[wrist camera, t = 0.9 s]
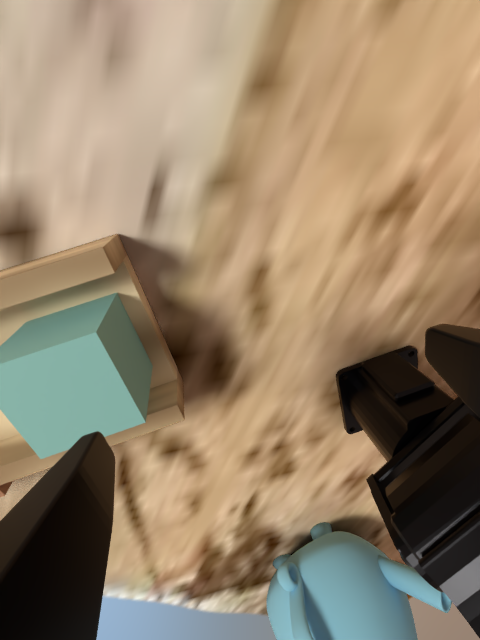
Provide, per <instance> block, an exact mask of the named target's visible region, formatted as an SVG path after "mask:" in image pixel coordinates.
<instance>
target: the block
mask: <svg viewBox="0 0 480 640" xmlns="http://www.w3.org/2000/svg"><path fill="white" fill-rule="evenodd" d="M152 368H153V365H152V363H151V361H150V359H149V357H148V355H147V353H146V351H145V349H144V347H143V345H142V343H141V341H140V339H139V337H138V334H137V332H136V330H135V328H134V326H133V324H132V322H131V320H130V318H129V316H128V314H127V312H126V310H125V308H124V306H123V304H122V302H121V299H120V297H119V295H118V293H114V294H111V295H107V296H104V297H101V298H98V299H95V300H92V301H89V302H86V303H83V304H80V305H77V306H74V307H70V308H67V309H64V310H61V311H58V312H55V313H52V314H49V315H46V316H43V317H40V318H37V319H33V320H30V321H27V322H26V323H24V324H23V325H22V326H21V327H20V328H19V329H18V330H17V331H16V332H15V333H14V334H13V335H12V336H11V337H9V338H8V339H7V340H6V341H5V342H4V343H3V344H2V345H1V346H0V410H1V411H2V412H3V414H4V415H5V416H6V417H7V419H8V420H9V421H10V422H11V423H12V425H13V426H14V427H15V428H16V430H17V431H18V432H19V433H20V434H21V436H22V437H23V438H24V439H25V441H26V442H27V443H28V444H29V446H30V447H31V448H32V449H33V450H34V452H35V453H36V454H37V455H38V457H39V458H40V459H43V458H46V457H49V456H52V455H55V454H57V453H60V452H63V451H66V450H69V449H70V448H71V447H72V446H73V445H74V444H75V443H76V442H77V441H78V440H79V439H80V438H81V437H82V436H83V435H86V434H89V433H93V432H96V431H99V432H101V433H102V434H103V436H104V437H106V436H109V435H112V434H114V433H117V432H120V431H123V430H126V429H129V428H132V427H134V426H137V425H140V424H143V423H146V417H147V409H148V401H149V392H150V384H151V376H152Z"/></svg>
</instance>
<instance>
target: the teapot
mask: <svg viewBox="0 0 480 640" xmlns="http://www.w3.org/2000/svg"><path fill="white" fill-rule="evenodd" d="M310 534H311V537H312V539H313V541H311V542H310V543H308V544H306V545H305V546H303V547H302V548H300V549H299V550H297V551H296V552H295V553H294V554H292V555H289V554H285V555H281V556H279V557H277V558H276V559H275V560H274V561H273V566H274V567H275V568H276V569H277V571H276V572H275V574H274V575H273V577H272V579H271V582H270V586H269V590H268V595H267V612H268V616H269V619H270V622H271V626H272V629H273V631H274V634H275V637H276V639H277V640H418V639H417V634H416V629H415V624H414V619H413V615H412V611H411V608H410V604H409V601H408V598H407V594H409V595H411V596H413V597H415V598H417V599H419V600H421V601H423V602H425V603H427V604H429V605H431V606H433V607H435V608H437V609H439V610H441V611H443V612H445V613H448V611H449V610H450V608H451V603H452V601H451V600H450V599H449V598H448V596H447V595H446V594H445V593H444V592H440V591H438V590H436V589H435V588H434V587H432V586H431V585H430V584H429V583H427V582H426V581H425V580H424V579H423V578H422V577H421V576H420V575H419V574H418V572H417V571H416V570H415V569H414V568H412V567H409V566H407V565H404V564H401V563H399V562H396V561H394V560H391V559H389V558H388V557H387V556H386V555H385V554H384V553H383V552H382V551H381V550H379V549H378V548H377V547H375V546H374V545H372V544H371V543H369V542H368V541H366V540H365V539H363V538H361V537H359V536H357V535H354V534H352V533H348V532H344V531H336V532H332V528H331V525H330V524H329V523H326V522H323V523H319V524H317V525H315V526H314V527H313V528H312V529H311V531H310ZM406 593H407V594H406Z"/></svg>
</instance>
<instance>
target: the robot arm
mask: <svg viewBox="0 0 480 640" xmlns="http://www.w3.org/2000/svg"><path fill="white" fill-rule="evenodd" d="M409 352H410V353H409ZM425 356H426V359H427V360H428V362H429V363H430V364H431V366H432V367H433V368H434V369H435V370H436V371H437V372H438V374H439V375H440V376H441V377H442V378H443V379H444V380H445V381H446V383H447V384H448V385H449V386H450V387H451V388H452V389H453V391H454V392H455V393H456V394H457V395H458V397H457V398H456V399H455V400H453V399H452V398H451V397H450V396H448V395H447V394H446V393H445V392H443V391H442V390H441V389H439V388H438V387H437V386H436V385H435V383H434V381H432V380H431V379H430V378H428V377H427V376H426V375H424V374H423V373H422V372H421V371H419V370H418V360H417V350H416V349H415V348H414V347H412V346H407V347H404V348H401V349H398V350H395V351H392V352H390V353H387V354H384V355H381V356H378V357H375V358H373V359H370V360H367V361H364V362H361V363H358V364H356V365H353V366H350V367H347V368H344V369H342V370H340V371H338V372H337V374H336V381H337V387H338V393H339V398H340V404H341V410H342V416H343V422H344V428H345V430H346V431H347V433H348V434H353V433H356V432H359V431H362V430H364V432H365V433H366V434H367V435H368V437H369V438H370V439H371V441H372V442H373V443H374V445H375V446H376V447H377V449H378V450H379V451H380V453H381V454H382V455H383V457H384V458H385V459H386V460H387V463H386V464H385V465H384V466H383V467H381V468H380V469H379V470H378V471H377V472H376V473H375V474H372V475H370V476H369V477H368V478H367V479H366V480H367V482H368V485H369V487H370V489H371V493H372V495H373V498H374V500H375V502H376V504H377V507H378V509H379V511H380V513H381V516H382V518H383V520H384V522H385V525H386V527H387V529H388V531H389V534H390V536H391V538H392V540H393V543H394V545H395V547H396V549H397V550H398V551H399V552H400V556H401V558H402V560H403V561H404V562H405V564H406V565H408V566H409V567H412V568H414V569H415V570H416V571H417V572H418V574H419V575H420V576H421V577H422V578H423V579H424V580H425V581H426V582H427V583H429V584H430V585H431V586H432V587H434V588H435V589H436V590H438V591H440V592H444V593H445V594H446V595H447V596H448V598H449V599H450V600H451V601H452V602H453V604H454V605H455V606H456V607H457V609H458V610H459V611H460V612H461V614H462V615H463V616H464V618H465V619H466V620H467V622H468V623H469V624H470V626H471V627H472V628H473V630H474V631H475V632H476V634H477V635H478V636H479V638H480V329H475V328H468V327H461V326H455V325H448V324H439V325H436V326H433V327H430V328H428V329H427V330H426V334H425ZM343 375H345V376H344V377H342V376H343ZM114 484H115V456H114V453H113V451H112V450H111V448H110V446H109V444H108V443H107V441H106V439H105V437H104V436H103V434H102V433H101V432H99V431H96V432H93V433H89V434H86V435H83V436H82V437H81V438H80V439H79V440H78V441H77V442H76V443H75V444H74V445H73V446H72V447H71V448H70V449H69V450H68V451H67V452H66V453H65V454H64V455H63V456H62V457H61V458H60V459H59V461H58V462H57V463H56V464H55V465H54V466H53V467H52V468H51V469H50V470H49V471H48V472H47V473H46V474H45V475H44V476H43V477H42V478H41V479H40V480H39V481H38V482H37V483H36V485H35V486H34V487H33V488H32V489H31V490H30V491H29V492H28V493H27V494H26V495H25V496H24V497H23V498H22V499H21V500H20V501H19V502H18V503H17V504H16V505H15V506H14V507H13V508H12V510H11V511H10V512H9V513H8V514H7V515H6V516H5V517H4V518H3V519H2V520H1V521H0V640H96V637H97V630H98V623H99V617H100V610H101V603H102V596H103V589H104V582H105V575H106V568H107V561H108V554H109V547H110V540H111V533H112V525H113V511H114Z"/></svg>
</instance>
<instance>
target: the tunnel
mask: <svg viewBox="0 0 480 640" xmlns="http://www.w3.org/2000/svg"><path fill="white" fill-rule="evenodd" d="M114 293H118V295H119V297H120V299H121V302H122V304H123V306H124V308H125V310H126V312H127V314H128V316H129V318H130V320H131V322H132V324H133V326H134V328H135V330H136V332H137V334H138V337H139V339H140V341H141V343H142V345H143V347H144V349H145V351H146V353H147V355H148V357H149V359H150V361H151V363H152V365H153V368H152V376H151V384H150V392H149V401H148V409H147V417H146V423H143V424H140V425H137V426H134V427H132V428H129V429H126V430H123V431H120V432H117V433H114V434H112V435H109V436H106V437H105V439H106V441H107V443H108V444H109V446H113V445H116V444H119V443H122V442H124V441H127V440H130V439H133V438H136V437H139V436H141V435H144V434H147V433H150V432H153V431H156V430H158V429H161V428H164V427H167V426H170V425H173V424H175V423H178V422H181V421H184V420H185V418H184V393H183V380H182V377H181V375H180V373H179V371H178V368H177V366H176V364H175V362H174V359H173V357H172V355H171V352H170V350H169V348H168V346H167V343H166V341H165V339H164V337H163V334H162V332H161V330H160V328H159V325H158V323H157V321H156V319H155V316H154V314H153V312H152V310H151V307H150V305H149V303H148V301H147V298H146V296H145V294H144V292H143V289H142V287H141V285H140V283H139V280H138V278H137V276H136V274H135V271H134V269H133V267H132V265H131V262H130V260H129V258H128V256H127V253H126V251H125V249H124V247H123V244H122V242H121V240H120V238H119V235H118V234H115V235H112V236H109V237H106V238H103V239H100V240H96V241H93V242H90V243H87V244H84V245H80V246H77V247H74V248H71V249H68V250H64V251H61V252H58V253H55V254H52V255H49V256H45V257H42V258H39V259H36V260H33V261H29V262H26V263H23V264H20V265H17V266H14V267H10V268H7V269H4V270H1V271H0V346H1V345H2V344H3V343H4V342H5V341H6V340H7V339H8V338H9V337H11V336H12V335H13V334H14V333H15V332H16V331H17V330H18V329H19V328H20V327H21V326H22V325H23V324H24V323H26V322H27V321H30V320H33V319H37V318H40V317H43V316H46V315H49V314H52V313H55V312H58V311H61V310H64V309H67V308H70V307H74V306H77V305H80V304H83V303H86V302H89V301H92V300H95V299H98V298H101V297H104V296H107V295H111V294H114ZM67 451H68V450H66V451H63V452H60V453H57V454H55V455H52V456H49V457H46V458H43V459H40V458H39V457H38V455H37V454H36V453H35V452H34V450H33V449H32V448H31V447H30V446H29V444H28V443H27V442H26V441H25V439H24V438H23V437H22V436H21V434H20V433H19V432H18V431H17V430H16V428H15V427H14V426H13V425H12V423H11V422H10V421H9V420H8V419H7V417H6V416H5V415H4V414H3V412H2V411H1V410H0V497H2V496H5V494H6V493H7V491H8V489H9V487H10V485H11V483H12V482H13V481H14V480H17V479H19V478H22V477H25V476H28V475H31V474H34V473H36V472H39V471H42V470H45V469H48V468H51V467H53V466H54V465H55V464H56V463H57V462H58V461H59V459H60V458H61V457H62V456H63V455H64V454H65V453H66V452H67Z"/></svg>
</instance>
